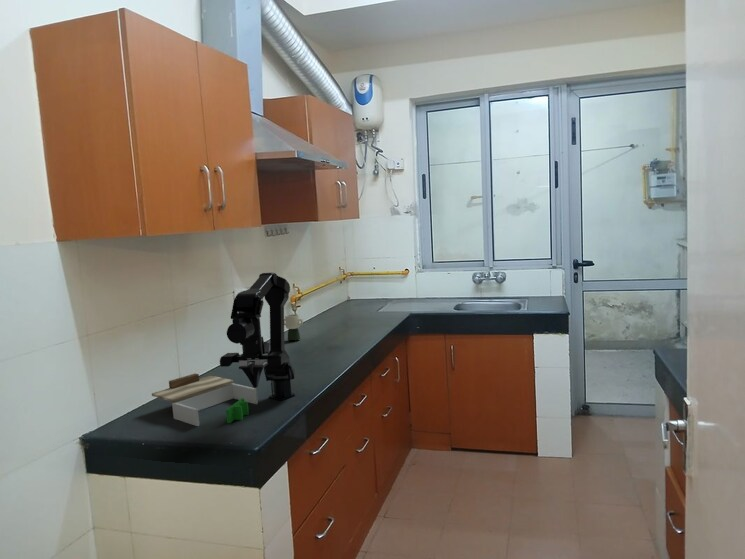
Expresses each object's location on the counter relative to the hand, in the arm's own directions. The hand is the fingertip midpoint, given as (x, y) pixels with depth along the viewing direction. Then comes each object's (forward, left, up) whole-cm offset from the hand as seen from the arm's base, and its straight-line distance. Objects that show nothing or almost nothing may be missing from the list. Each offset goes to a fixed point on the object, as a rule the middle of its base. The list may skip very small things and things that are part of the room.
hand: (255, 387), depth 158 cm
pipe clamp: (+8, +1, -11) cm, 13 cm away
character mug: (+74, -83, -11) cm, 112 cm away
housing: (+19, +1, -10) cm, 22 cm away
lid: (+31, +1, -5) cm, 32 cm away
